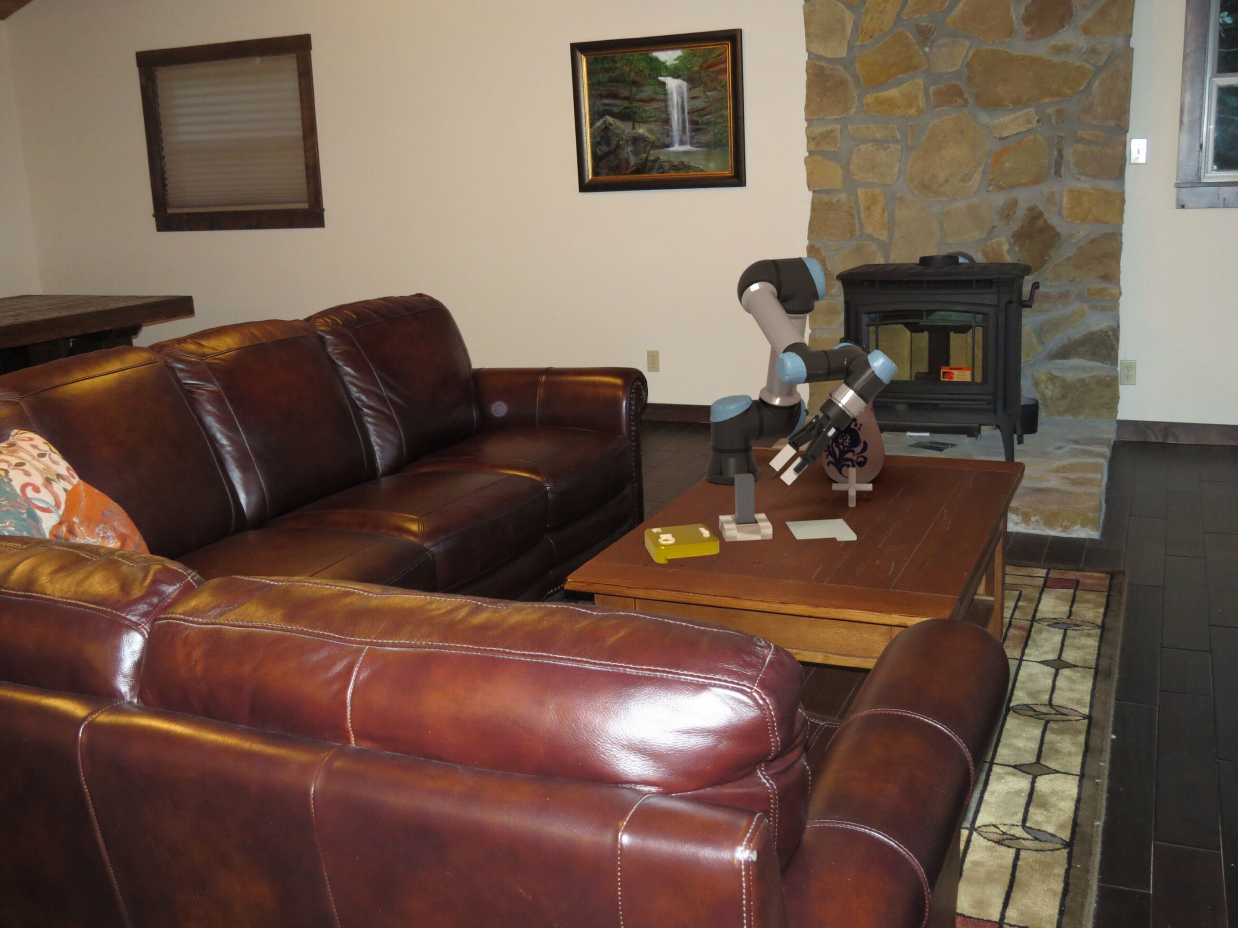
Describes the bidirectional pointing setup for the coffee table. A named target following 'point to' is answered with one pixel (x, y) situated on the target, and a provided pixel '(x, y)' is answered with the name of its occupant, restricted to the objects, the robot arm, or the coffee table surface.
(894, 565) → the coffee table surface
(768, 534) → the socket block
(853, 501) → the pipe connector
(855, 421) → the ceramic pitcher
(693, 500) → the coffee table surface
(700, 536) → the element tile
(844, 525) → the plate
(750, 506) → the peg
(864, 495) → the coffee table surface
